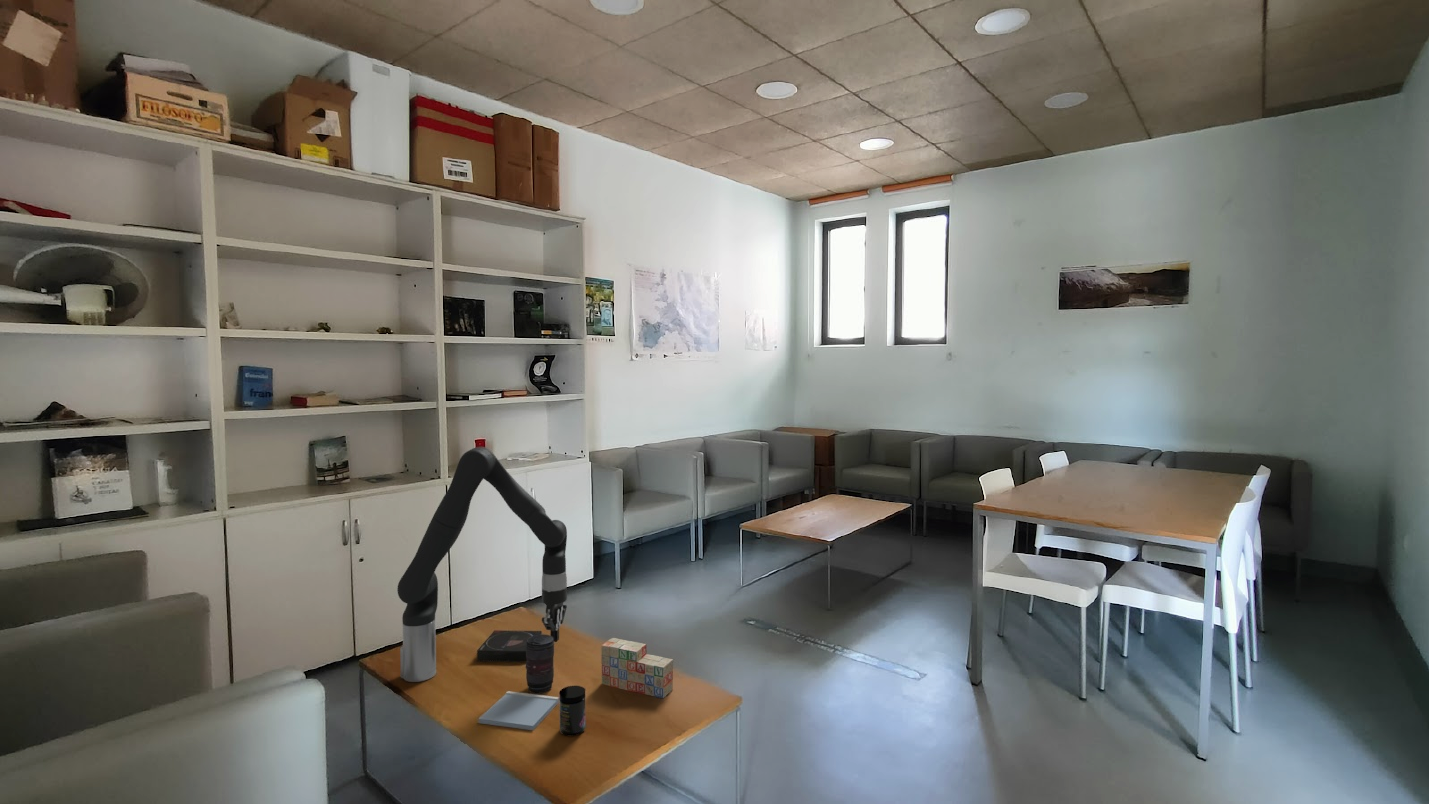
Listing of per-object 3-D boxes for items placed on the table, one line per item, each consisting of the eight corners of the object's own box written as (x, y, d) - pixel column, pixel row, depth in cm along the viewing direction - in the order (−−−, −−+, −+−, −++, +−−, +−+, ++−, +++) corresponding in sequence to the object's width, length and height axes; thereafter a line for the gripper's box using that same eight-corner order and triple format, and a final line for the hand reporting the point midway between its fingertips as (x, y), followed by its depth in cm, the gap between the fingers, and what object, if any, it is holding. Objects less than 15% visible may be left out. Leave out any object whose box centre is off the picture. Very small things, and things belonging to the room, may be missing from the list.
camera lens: (547, 696, 194) (546, 645, 193) (521, 693, 196) (520, 643, 195) (559, 683, 202) (558, 634, 201) (534, 680, 204) (533, 632, 203)
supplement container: (579, 738, 172) (579, 699, 172) (555, 735, 173) (554, 696, 173) (589, 724, 179) (589, 686, 178) (565, 722, 180) (565, 684, 180)
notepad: (478, 723, 179) (478, 717, 179) (507, 696, 194) (507, 691, 194) (533, 730, 176) (533, 724, 176) (558, 702, 191) (558, 697, 190)
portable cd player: (529, 663, 217) (529, 651, 217) (477, 662, 217) (477, 650, 217) (543, 642, 233) (543, 631, 233) (494, 641, 233) (494, 630, 233)
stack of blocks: (673, 689, 199) (673, 649, 198) (663, 699, 193) (663, 657, 192) (612, 675, 208) (612, 636, 207) (601, 684, 202) (600, 644, 201)
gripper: (552, 578, 214) (553, 631, 215) (532, 592, 201) (533, 648, 202) (574, 580, 212) (575, 633, 213) (555, 594, 199) (556, 650, 200)
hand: (554, 640), depth 208 cm, fingers closed
